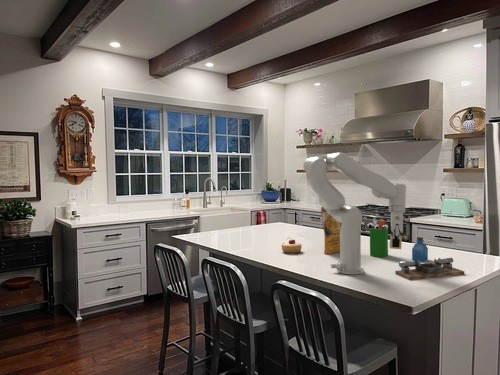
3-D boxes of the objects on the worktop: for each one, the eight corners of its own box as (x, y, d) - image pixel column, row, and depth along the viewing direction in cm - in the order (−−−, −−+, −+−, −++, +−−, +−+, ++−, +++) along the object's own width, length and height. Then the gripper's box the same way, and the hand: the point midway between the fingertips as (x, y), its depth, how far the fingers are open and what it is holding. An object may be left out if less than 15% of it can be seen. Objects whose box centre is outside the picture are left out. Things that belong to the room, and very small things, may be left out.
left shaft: (416, 273, 179) (416, 258, 179) (421, 275, 175) (421, 260, 175) (398, 274, 179) (398, 259, 178) (402, 276, 175) (402, 261, 174)
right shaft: (441, 274, 178) (441, 258, 177) (433, 271, 181) (433, 257, 181) (454, 271, 181) (454, 256, 181) (447, 269, 185) (447, 255, 185)
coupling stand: (408, 279, 169) (408, 270, 169) (395, 274, 179) (395, 265, 179) (464, 274, 176) (464, 265, 176) (448, 269, 186) (448, 260, 186)
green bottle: (376, 252, 224) (376, 218, 223) (391, 255, 218) (391, 219, 217) (367, 255, 217) (367, 220, 216) (382, 258, 211) (382, 221, 210)
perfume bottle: (415, 258, 209) (415, 236, 209) (427, 259, 206) (427, 237, 205) (412, 260, 205) (412, 238, 204) (424, 262, 201) (424, 239, 200)
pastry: (300, 255, 224) (300, 240, 223) (280, 254, 226) (280, 239, 225) (302, 250, 235) (302, 236, 234) (282, 249, 238) (282, 235, 237)
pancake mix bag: (317, 253, 225) (316, 205, 224) (336, 248, 238) (336, 203, 237) (326, 255, 220) (326, 206, 219) (346, 250, 233) (345, 204, 232)
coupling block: (401, 249, 185) (401, 235, 184) (390, 248, 186) (390, 234, 186) (400, 247, 189) (400, 234, 189) (389, 246, 191) (390, 233, 190)
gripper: (407, 210, 178) (405, 250, 178) (403, 207, 194) (401, 243, 195) (389, 210, 180) (388, 248, 181) (387, 207, 196) (386, 242, 197)
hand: (395, 245), depth 188 cm, fingers closed on coupling block, 5 cm apart
